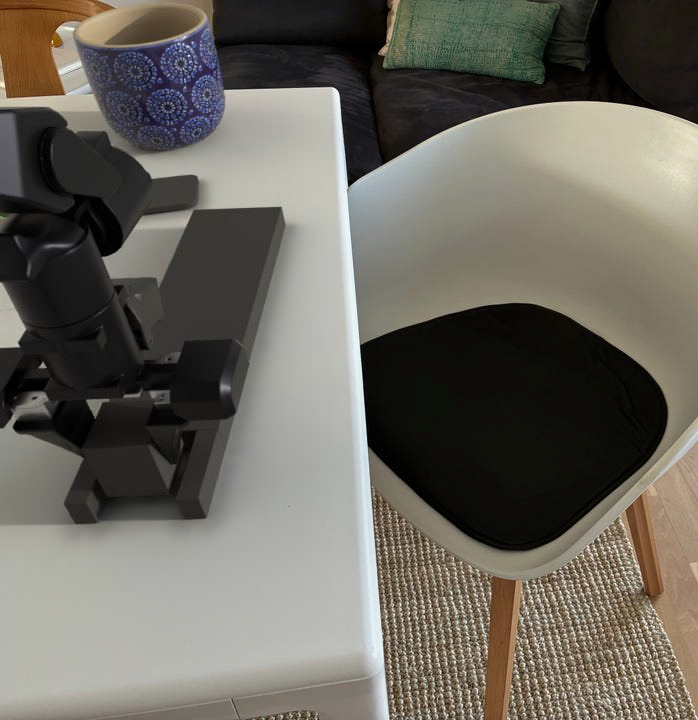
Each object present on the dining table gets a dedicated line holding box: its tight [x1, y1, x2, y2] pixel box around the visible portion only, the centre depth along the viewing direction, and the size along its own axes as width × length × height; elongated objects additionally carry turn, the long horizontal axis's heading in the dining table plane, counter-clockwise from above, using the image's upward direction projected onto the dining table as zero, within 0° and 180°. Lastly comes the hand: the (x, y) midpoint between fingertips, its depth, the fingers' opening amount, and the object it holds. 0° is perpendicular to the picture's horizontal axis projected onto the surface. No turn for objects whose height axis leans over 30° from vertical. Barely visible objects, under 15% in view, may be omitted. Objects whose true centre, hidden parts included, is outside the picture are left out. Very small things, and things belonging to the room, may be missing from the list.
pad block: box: [82, 400, 185, 498], centre depth 59 cm, size 5×5×6 cm
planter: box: [72, 2, 226, 151], centre depth 103 cm, size 17×17×15 cm
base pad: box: [63, 206, 287, 525], centre depth 74 cm, size 42×10×2 cm, turn 2°
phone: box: [143, 174, 200, 215], centre depth 94 cm, size 7×1×15 cm
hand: (142, 461), depth 60 cm, fingers closed on pad block, 5 cm apart
